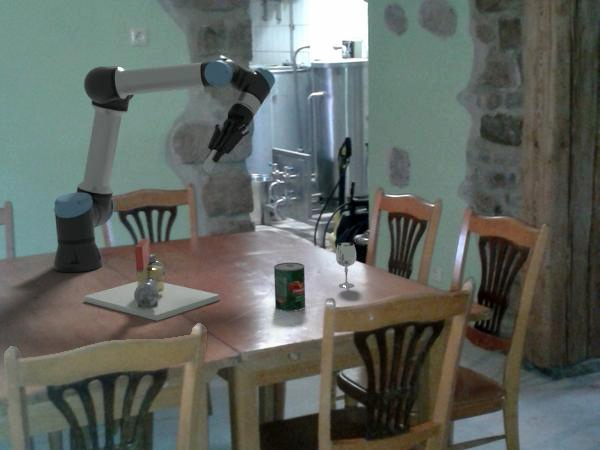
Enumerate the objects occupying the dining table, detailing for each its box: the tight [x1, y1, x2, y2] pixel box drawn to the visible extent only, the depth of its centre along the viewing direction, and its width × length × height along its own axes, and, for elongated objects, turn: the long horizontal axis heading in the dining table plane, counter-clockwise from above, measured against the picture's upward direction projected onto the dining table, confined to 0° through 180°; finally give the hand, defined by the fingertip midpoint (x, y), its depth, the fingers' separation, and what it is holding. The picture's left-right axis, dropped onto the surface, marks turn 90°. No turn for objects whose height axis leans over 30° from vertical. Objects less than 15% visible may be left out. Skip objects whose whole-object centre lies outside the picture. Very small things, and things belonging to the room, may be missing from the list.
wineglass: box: [335, 242, 357, 289], centre depth 222 cm, size 6×6×12 cm
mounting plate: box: [83, 281, 220, 322], centre depth 213 cm, size 30×22×2 cm
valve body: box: [134, 260, 166, 307], centre depth 212 cm, size 26×7×9 cm, turn 6°
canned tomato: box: [273, 261, 306, 312], centre depth 204 cm, size 8×8×11 cm
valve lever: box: [134, 238, 157, 273], centre depth 205 cm, size 16×4×7 cm, turn 2°
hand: (206, 169), depth 235 cm, fingers closed
